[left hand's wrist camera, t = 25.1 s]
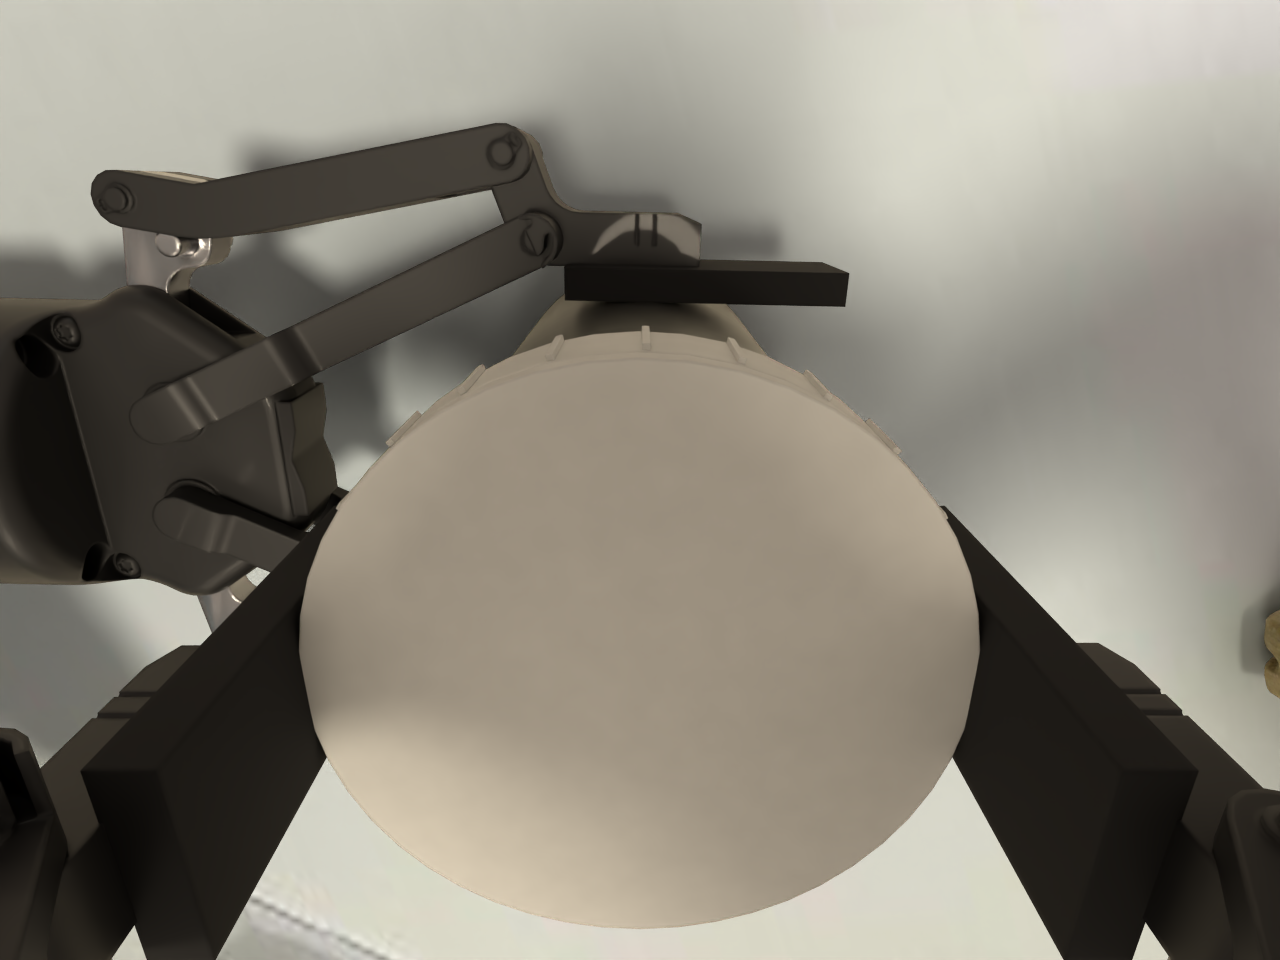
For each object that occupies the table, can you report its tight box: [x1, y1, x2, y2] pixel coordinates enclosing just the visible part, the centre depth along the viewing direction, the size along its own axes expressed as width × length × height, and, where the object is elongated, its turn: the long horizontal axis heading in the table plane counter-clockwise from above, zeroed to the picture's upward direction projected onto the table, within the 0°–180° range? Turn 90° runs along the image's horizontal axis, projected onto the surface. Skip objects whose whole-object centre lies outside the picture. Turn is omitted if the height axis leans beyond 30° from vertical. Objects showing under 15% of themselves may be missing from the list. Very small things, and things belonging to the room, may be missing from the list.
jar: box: [512, 294, 767, 356], centre depth 19 cm, size 8×8×16 cm
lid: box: [299, 326, 980, 929], centre depth 11 cm, size 10×10×2 cm
